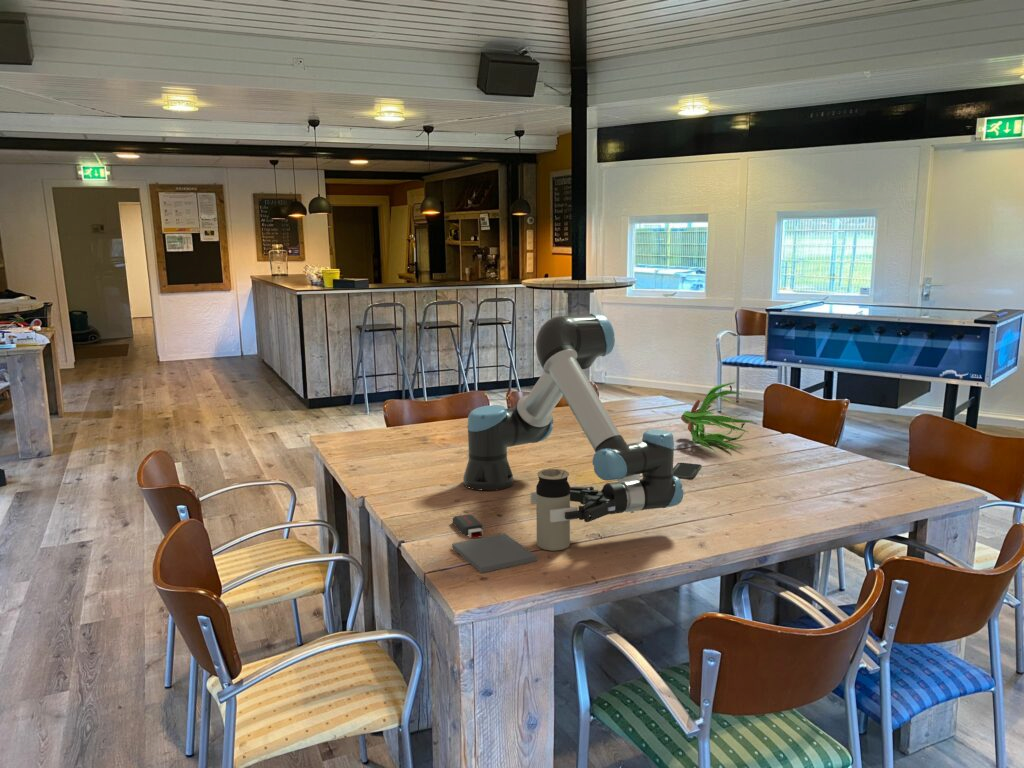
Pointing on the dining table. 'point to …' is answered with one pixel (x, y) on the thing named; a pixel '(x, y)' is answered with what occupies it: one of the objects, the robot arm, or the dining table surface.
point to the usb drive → (468, 525)
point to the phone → (686, 470)
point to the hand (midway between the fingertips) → (540, 506)
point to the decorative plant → (711, 420)
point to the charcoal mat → (494, 552)
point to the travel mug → (550, 497)
